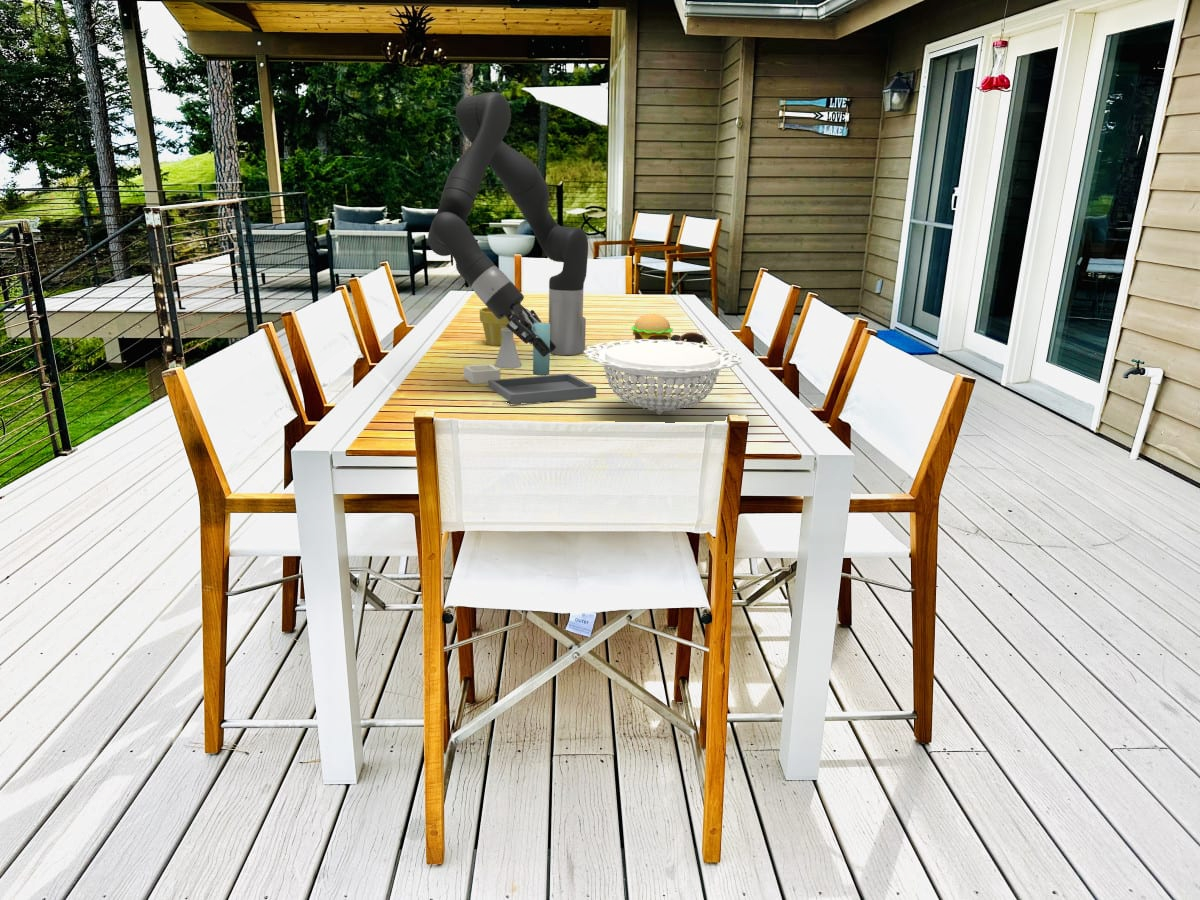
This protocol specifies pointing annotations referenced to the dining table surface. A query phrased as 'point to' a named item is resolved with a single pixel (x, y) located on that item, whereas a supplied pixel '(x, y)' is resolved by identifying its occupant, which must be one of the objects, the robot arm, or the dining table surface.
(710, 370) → the colander
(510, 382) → the tray
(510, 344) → the flask
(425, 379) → the dining table surface
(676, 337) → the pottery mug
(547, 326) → the dowel
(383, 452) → the dining table surface
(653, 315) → the hamburger
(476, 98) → the robot arm
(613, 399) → the dining table surface
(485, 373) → the tray
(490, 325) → the plant pot
